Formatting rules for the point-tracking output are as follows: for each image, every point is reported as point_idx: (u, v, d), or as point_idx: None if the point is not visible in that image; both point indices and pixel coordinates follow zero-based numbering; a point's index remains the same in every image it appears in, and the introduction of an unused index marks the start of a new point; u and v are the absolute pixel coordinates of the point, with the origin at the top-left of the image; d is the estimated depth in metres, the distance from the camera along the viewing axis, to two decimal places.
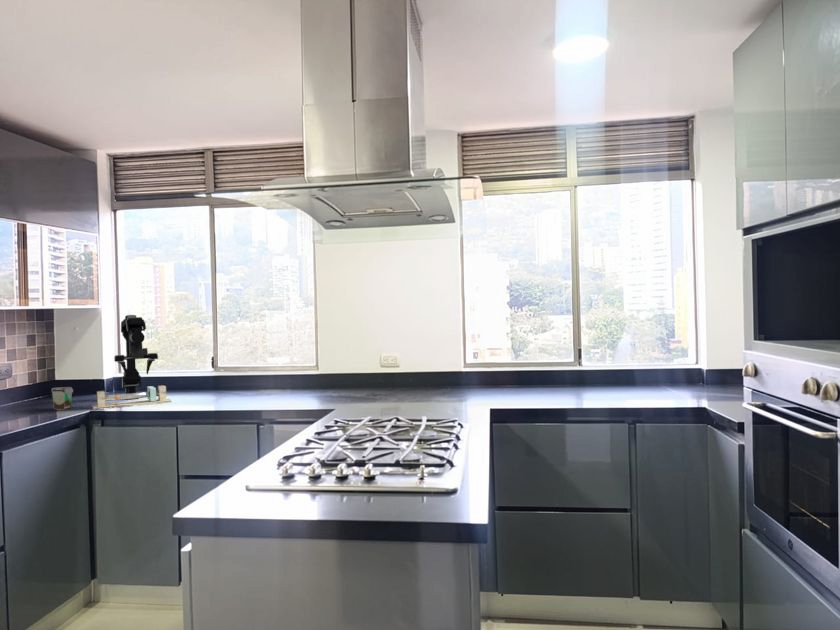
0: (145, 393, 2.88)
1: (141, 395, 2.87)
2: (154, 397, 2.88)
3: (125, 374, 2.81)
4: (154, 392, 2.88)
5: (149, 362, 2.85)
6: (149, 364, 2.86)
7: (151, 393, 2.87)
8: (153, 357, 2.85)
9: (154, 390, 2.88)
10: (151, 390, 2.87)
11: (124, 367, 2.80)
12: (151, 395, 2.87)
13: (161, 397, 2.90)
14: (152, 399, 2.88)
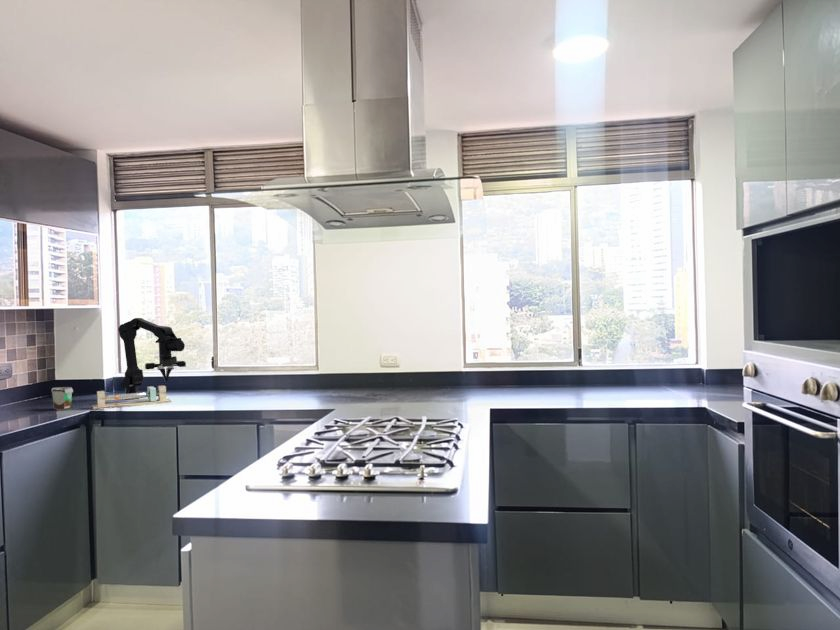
0: (145, 393, 2.88)
1: (141, 395, 2.87)
2: (154, 397, 2.88)
3: None
4: (154, 392, 2.88)
5: (168, 370, 2.98)
6: (168, 372, 2.99)
7: (151, 393, 2.87)
8: (181, 365, 3.01)
9: (154, 390, 2.88)
10: (151, 390, 2.87)
11: (164, 374, 2.98)
12: (151, 395, 2.87)
13: (161, 397, 2.90)
14: (152, 399, 2.88)
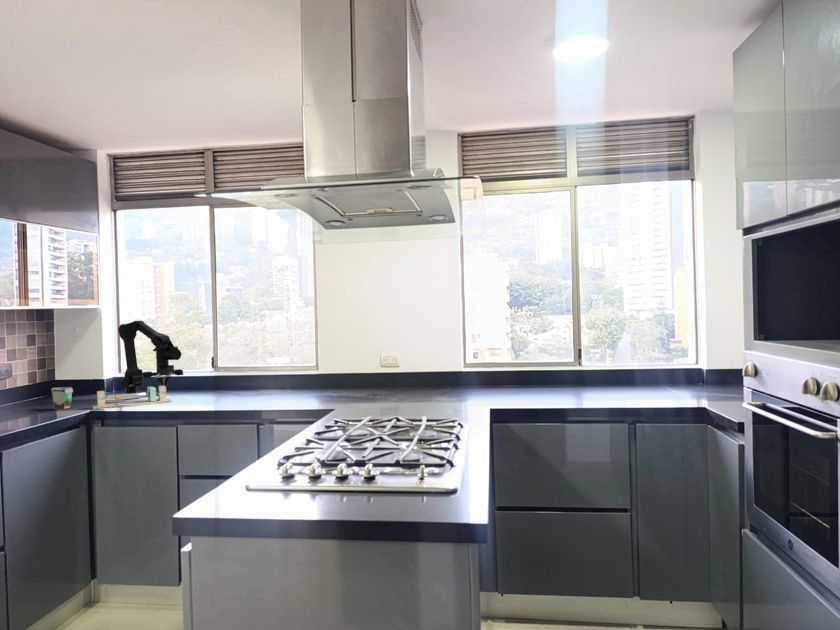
0: (145, 393, 2.88)
1: (141, 395, 2.87)
2: (154, 397, 2.88)
3: None
4: (154, 392, 2.88)
5: (166, 379, 2.98)
6: (166, 381, 2.98)
7: (151, 393, 2.87)
8: (179, 373, 3.00)
9: (154, 390, 2.88)
10: (151, 390, 2.87)
11: (161, 382, 2.97)
12: (151, 395, 2.87)
13: (161, 397, 2.90)
14: (152, 399, 2.88)
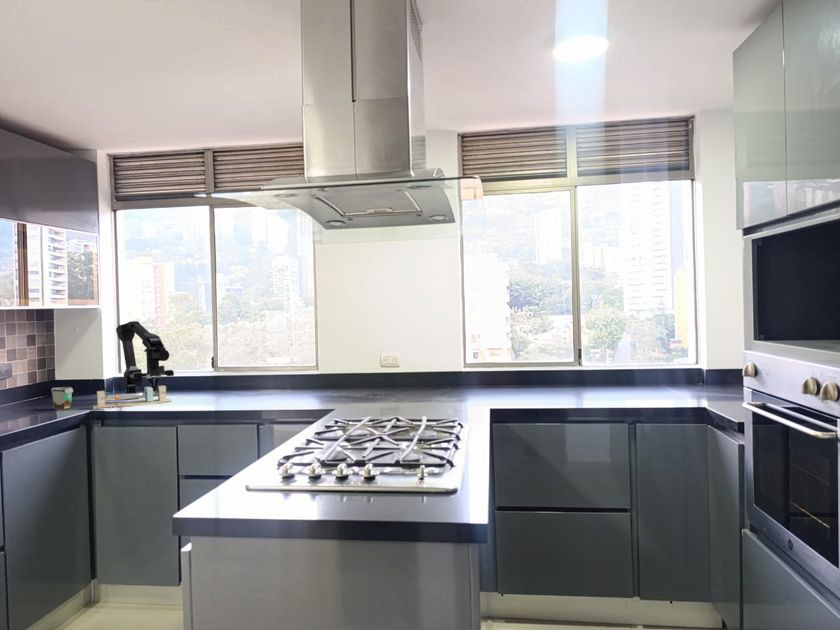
0: (145, 393, 2.88)
1: (141, 395, 2.87)
2: (151, 397, 2.87)
3: None
4: (151, 392, 2.87)
5: (156, 380, 2.95)
6: (156, 381, 2.96)
7: (148, 393, 2.87)
8: (169, 374, 2.98)
9: (151, 390, 2.87)
10: (148, 390, 2.87)
11: (151, 383, 2.95)
12: (148, 395, 2.87)
13: (161, 397, 2.90)
14: (149, 399, 2.87)
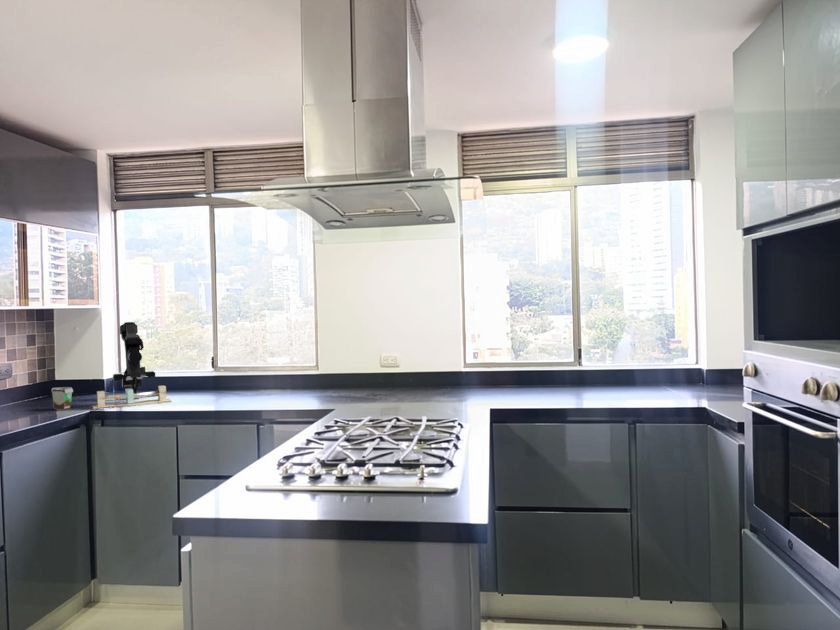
0: (145, 393, 2.88)
1: (141, 395, 2.87)
2: (132, 399, 2.83)
3: (133, 391, 2.91)
4: (132, 394, 2.83)
5: (137, 381, 2.91)
6: (137, 383, 2.91)
7: (128, 395, 2.82)
8: (151, 375, 2.93)
9: (132, 392, 2.83)
10: (128, 392, 2.82)
11: (132, 385, 2.90)
12: (128, 397, 2.82)
13: (161, 397, 2.90)
14: (129, 401, 2.82)
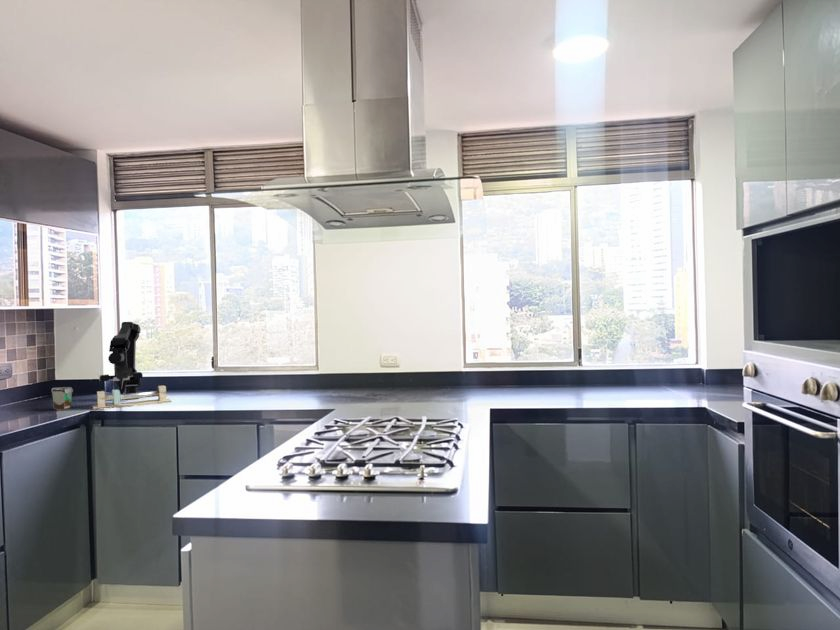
0: (145, 393, 2.88)
1: (141, 395, 2.87)
2: (118, 400, 2.80)
3: (120, 392, 2.88)
4: (118, 395, 2.80)
5: (124, 382, 2.88)
6: (124, 384, 2.88)
7: (115, 396, 2.79)
8: (138, 376, 2.90)
9: (118, 393, 2.80)
10: (115, 393, 2.79)
11: (119, 386, 2.87)
12: (115, 398, 2.79)
13: (161, 397, 2.90)
14: (116, 403, 2.79)
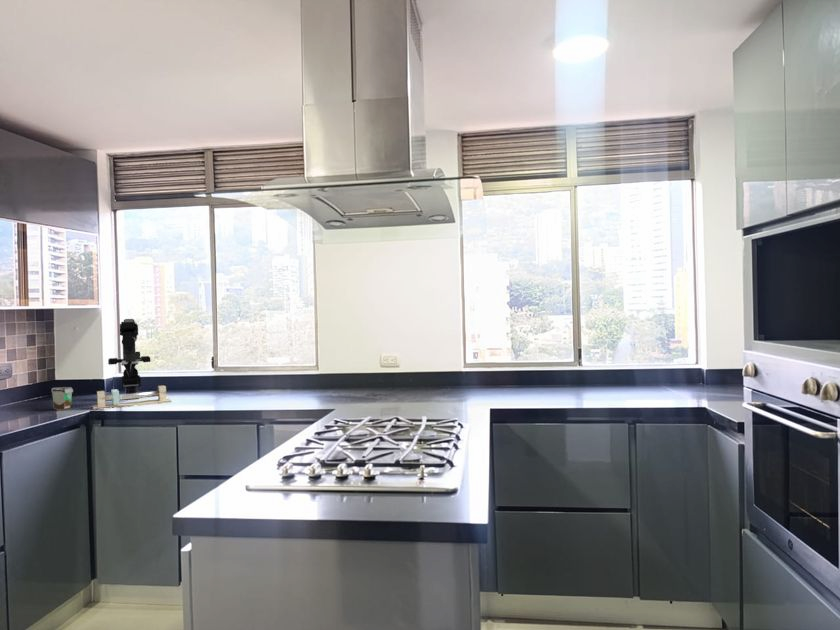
0: (145, 393, 2.88)
1: (141, 395, 2.87)
2: (117, 401, 2.80)
3: (128, 376, 2.93)
4: (117, 395, 2.80)
5: (132, 366, 2.92)
6: (132, 367, 2.92)
7: (114, 396, 2.79)
8: (146, 360, 2.94)
9: (117, 393, 2.80)
10: (114, 393, 2.79)
11: (127, 369, 2.91)
12: (114, 399, 2.79)
13: (161, 397, 2.90)
14: (115, 403, 2.79)
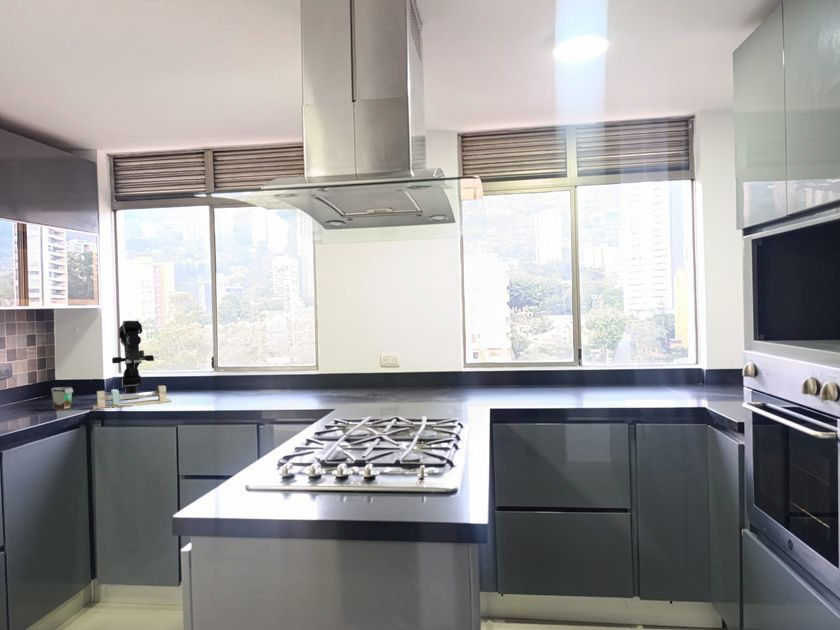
0: (145, 393, 2.88)
1: (141, 395, 2.87)
2: (117, 401, 2.80)
3: (132, 374, 2.96)
4: (117, 395, 2.80)
5: (136, 364, 2.95)
6: (136, 366, 2.96)
7: (114, 396, 2.79)
8: (149, 359, 2.97)
9: (117, 393, 2.80)
10: (114, 393, 2.79)
11: (131, 368, 2.94)
12: (114, 399, 2.79)
13: (161, 397, 2.90)
14: (115, 403, 2.79)
